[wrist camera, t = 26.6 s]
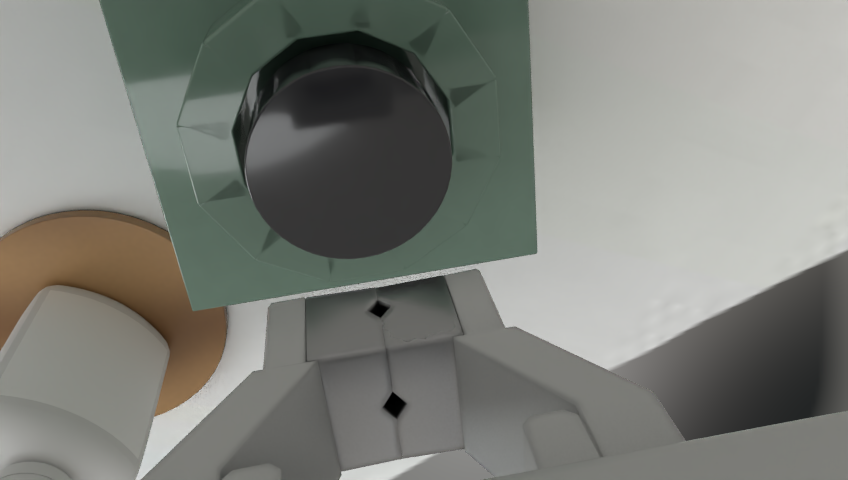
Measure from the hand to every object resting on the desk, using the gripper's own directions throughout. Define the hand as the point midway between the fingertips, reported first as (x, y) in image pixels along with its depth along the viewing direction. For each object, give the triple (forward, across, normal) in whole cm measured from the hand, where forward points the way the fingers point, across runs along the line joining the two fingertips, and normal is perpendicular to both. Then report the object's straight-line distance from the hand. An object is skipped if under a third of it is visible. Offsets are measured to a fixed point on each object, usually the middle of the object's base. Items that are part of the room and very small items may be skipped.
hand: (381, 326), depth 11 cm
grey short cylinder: (+8, 0, 0) cm, 8 cm away
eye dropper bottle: (+18, +11, +10) cm, 23 cm away
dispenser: (+18, 0, 0) cm, 18 cm away
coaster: (+18, +11, +10) cm, 24 cm away
